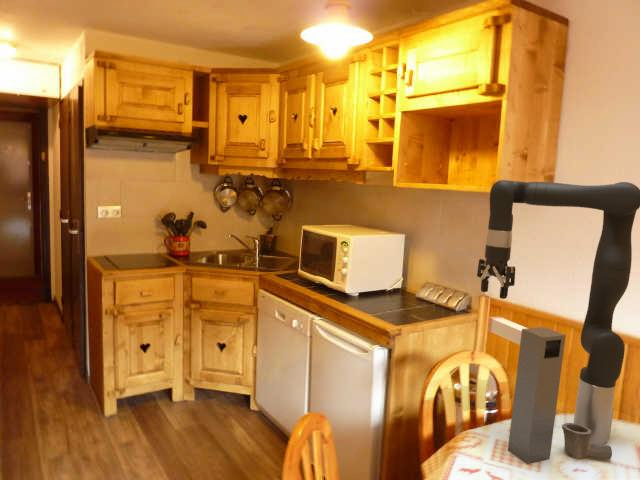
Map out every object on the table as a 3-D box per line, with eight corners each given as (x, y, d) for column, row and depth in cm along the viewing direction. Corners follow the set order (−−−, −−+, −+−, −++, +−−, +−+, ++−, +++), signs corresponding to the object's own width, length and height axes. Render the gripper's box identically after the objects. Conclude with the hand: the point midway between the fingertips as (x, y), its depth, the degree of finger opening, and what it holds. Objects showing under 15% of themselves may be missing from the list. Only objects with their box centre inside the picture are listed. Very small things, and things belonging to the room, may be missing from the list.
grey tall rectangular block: (529, 445, 140) (544, 327, 136) (549, 459, 134) (565, 335, 129) (507, 450, 137) (522, 328, 133) (527, 464, 131) (542, 337, 126)
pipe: (612, 466, 133) (617, 438, 132) (561, 458, 135) (565, 430, 134) (605, 454, 139) (608, 427, 137) (555, 446, 141) (559, 420, 140)
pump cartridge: (499, 330, 149) (500, 316, 149) (537, 347, 136) (539, 332, 135) (487, 331, 148) (489, 317, 147) (525, 348, 134) (527, 333, 133)
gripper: (473, 241, 160) (469, 290, 162) (505, 248, 147) (499, 301, 149) (492, 241, 163) (487, 289, 165) (524, 247, 150) (519, 300, 152)
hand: (493, 295), depth 157 cm, fingers open, 8 cm apart
